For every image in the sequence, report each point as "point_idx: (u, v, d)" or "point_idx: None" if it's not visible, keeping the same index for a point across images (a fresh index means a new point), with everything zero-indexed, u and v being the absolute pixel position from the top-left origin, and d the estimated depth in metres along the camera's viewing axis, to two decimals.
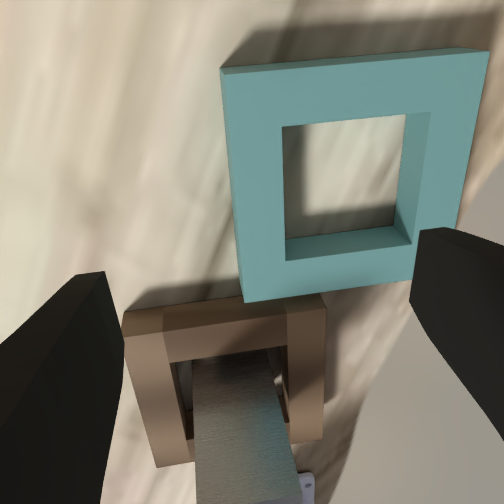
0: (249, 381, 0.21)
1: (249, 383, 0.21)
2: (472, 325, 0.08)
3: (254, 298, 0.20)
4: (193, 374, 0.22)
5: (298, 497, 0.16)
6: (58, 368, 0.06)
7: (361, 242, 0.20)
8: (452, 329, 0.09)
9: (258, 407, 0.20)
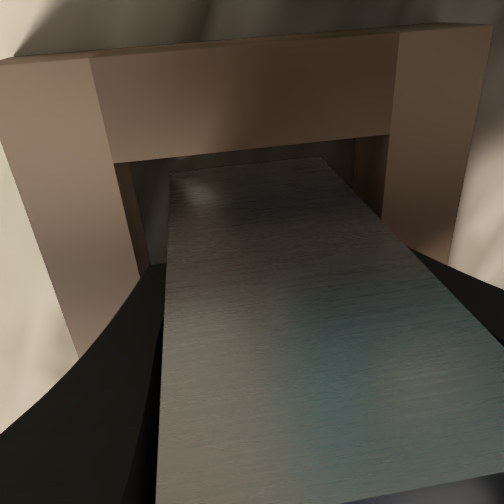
0: (307, 207, 0.09)
1: (305, 209, 0.09)
2: None
3: None
4: (172, 202, 0.09)
5: None
6: (162, 352, 0.06)
7: None
8: None
9: (341, 243, 0.07)
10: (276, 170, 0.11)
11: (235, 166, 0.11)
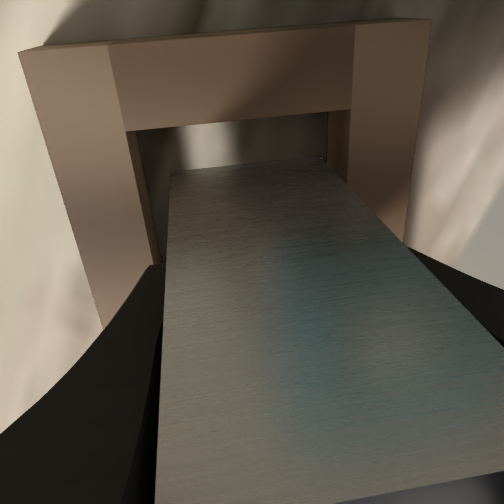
0: (307, 206, 0.09)
1: (305, 208, 0.09)
2: None
3: None
4: (172, 202, 0.09)
5: None
6: None
7: None
8: None
9: (341, 243, 0.07)
10: (275, 170, 0.11)
11: (235, 166, 0.11)
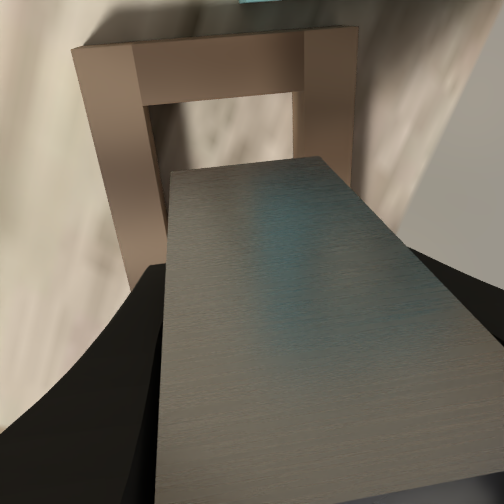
0: (306, 206, 0.09)
1: (305, 208, 0.09)
2: None
3: None
4: (172, 201, 0.09)
5: None
6: None
7: None
8: None
9: (341, 242, 0.07)
10: (275, 170, 0.11)
11: (235, 166, 0.11)
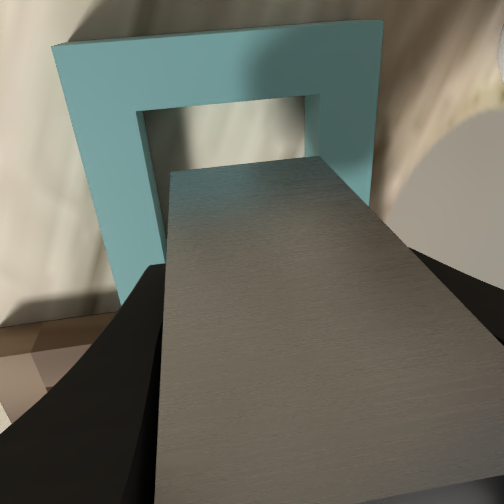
0: (307, 206, 0.09)
1: (305, 209, 0.09)
2: None
3: None
4: (172, 202, 0.09)
5: None
6: None
7: None
8: None
9: (342, 243, 0.07)
10: (276, 170, 0.11)
11: (235, 166, 0.11)
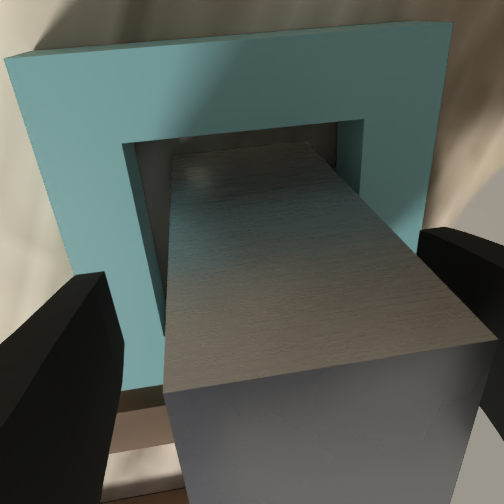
0: (291, 181, 0.10)
1: (290, 183, 0.10)
2: None
3: (125, 385, 0.14)
4: (174, 178, 0.11)
5: (481, 354, 0.05)
6: (58, 368, 0.06)
7: None
8: None
9: (318, 208, 0.09)
10: (266, 153, 0.12)
11: (230, 150, 0.13)
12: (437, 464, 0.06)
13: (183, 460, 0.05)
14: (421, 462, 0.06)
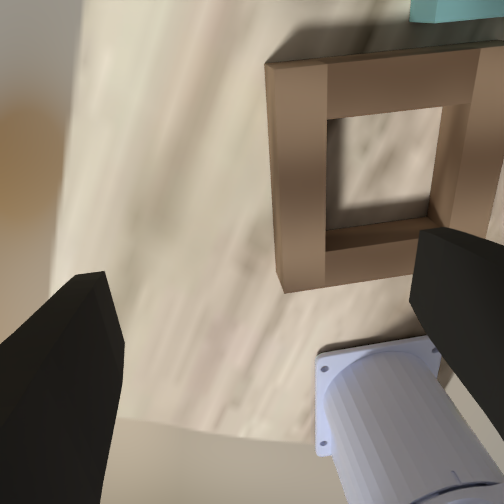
0: None
1: None
2: (472, 325, 0.08)
3: (448, 16, 0.15)
4: None
5: None
6: (58, 368, 0.06)
7: None
8: (452, 329, 0.09)
9: None
10: None
11: None
12: None
13: None
14: None
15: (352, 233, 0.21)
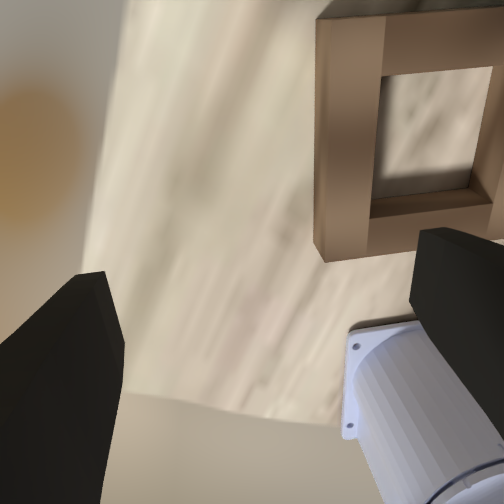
0: None
1: None
2: (472, 325, 0.08)
3: None
4: None
5: None
6: (58, 368, 0.06)
7: None
8: (452, 329, 0.09)
9: None
10: None
11: None
12: None
13: None
14: None
15: (394, 202, 0.20)
